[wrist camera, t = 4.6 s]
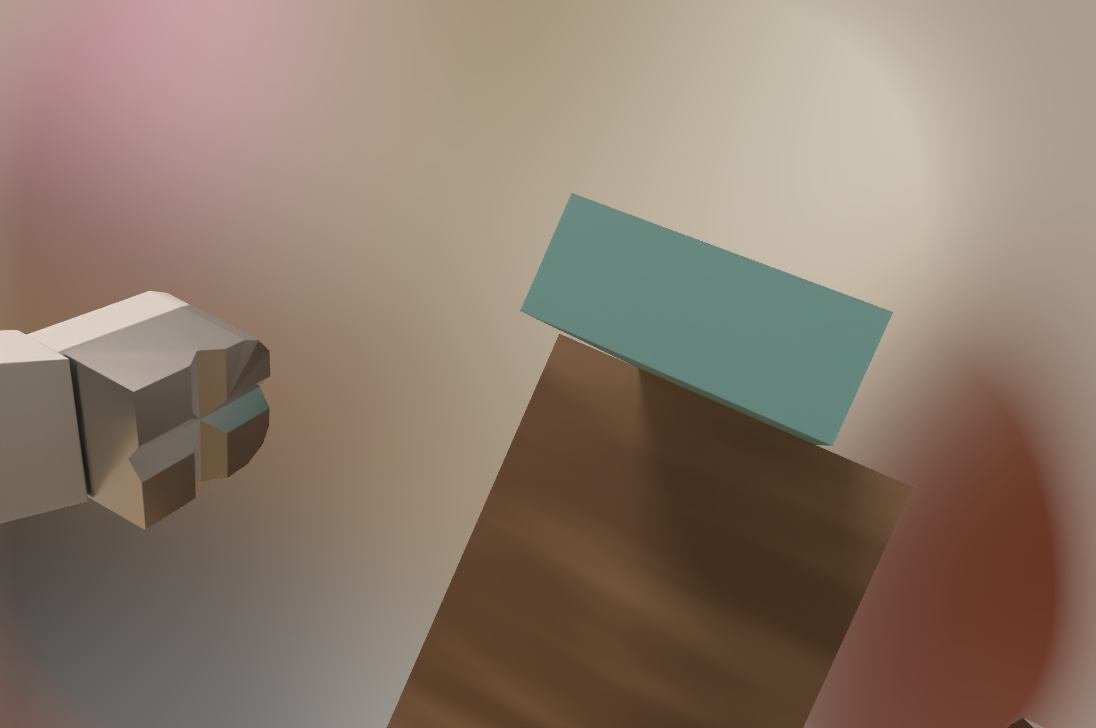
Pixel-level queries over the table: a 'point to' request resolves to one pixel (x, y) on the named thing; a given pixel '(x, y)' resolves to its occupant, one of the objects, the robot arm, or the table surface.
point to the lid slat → (707, 319)
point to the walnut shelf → (650, 565)
